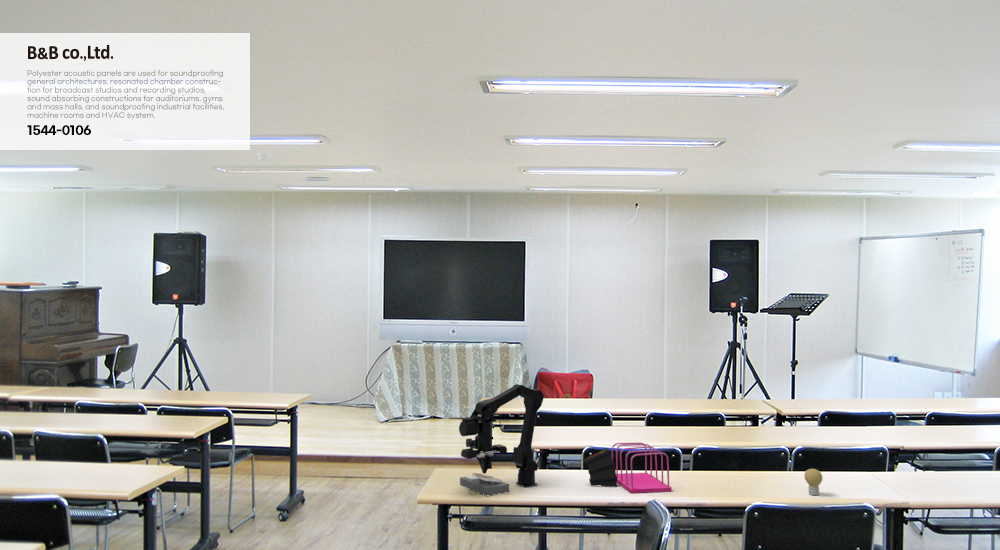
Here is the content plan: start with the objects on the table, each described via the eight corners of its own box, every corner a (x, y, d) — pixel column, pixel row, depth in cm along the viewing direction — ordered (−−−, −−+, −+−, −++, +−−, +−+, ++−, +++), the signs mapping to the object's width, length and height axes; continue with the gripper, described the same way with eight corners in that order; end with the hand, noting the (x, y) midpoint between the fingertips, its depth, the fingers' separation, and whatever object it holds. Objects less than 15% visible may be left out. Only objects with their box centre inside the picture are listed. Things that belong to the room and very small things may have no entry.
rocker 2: (495, 480, 253) (496, 477, 254) (501, 482, 250) (502, 479, 250) (479, 478, 249) (480, 475, 249) (485, 480, 246) (485, 477, 246)
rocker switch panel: (482, 481, 265) (482, 471, 265) (509, 491, 248) (509, 482, 249) (460, 484, 259) (460, 475, 259) (486, 496, 242) (486, 486, 242)
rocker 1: (487, 476, 258) (488, 474, 259) (493, 479, 255) (493, 476, 255) (471, 475, 254) (472, 472, 254) (477, 477, 251) (477, 474, 251)
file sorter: (631, 493, 247) (630, 453, 248) (609, 478, 271) (609, 441, 272) (672, 492, 250) (671, 452, 251) (647, 476, 274) (646, 440, 275)
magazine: (624, 483, 256) (608, 449, 258) (595, 496, 257) (579, 462, 258) (623, 480, 260) (607, 447, 261) (595, 493, 260) (579, 460, 262)
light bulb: (802, 494, 246) (801, 468, 247) (808, 491, 251) (807, 466, 251) (819, 497, 242) (818, 471, 242) (825, 494, 246) (824, 469, 247)
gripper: (492, 428, 261) (492, 466, 260) (454, 433, 251) (453, 472, 250) (507, 432, 252) (507, 471, 251) (468, 437, 241) (468, 478, 240)
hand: (484, 473), depth 248 cm, fingers closed
